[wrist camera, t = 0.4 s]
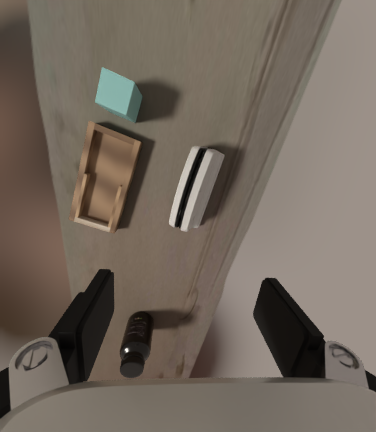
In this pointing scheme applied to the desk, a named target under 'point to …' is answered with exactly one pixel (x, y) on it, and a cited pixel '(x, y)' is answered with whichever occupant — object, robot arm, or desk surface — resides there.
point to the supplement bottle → (136, 344)
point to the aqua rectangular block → (118, 95)
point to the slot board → (104, 178)
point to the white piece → (195, 187)
